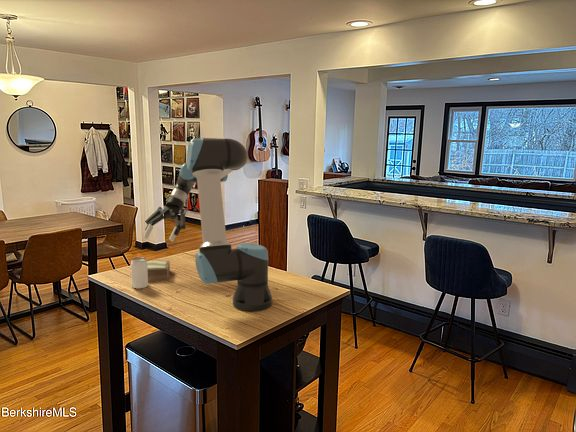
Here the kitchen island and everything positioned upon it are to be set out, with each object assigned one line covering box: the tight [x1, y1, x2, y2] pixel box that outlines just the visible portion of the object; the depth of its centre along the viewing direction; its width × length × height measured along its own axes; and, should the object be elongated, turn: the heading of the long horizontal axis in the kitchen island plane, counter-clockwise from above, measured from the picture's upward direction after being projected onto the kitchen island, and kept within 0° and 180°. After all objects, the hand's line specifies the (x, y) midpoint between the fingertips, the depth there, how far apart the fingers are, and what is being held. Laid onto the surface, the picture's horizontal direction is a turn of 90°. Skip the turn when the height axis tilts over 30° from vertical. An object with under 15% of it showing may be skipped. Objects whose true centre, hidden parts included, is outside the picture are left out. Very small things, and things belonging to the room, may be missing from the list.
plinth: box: [146, 260, 171, 282], centre depth 189 cm, size 13×11×5 cm
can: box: [130, 257, 149, 290], centre depth 175 cm, size 6×6×12 cm
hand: (157, 239), depth 184 cm, fingers open, 13 cm apart
